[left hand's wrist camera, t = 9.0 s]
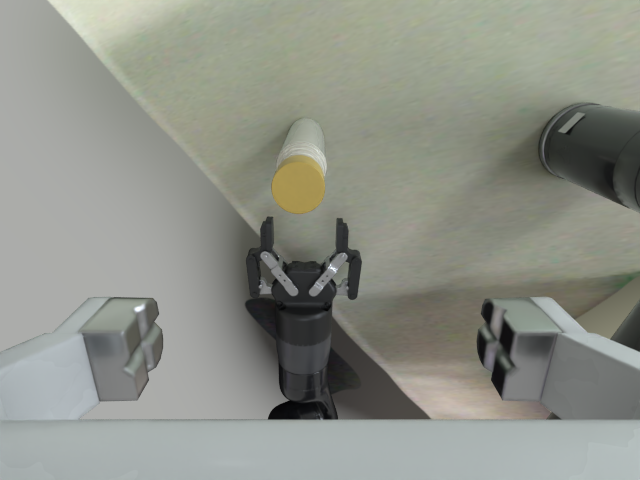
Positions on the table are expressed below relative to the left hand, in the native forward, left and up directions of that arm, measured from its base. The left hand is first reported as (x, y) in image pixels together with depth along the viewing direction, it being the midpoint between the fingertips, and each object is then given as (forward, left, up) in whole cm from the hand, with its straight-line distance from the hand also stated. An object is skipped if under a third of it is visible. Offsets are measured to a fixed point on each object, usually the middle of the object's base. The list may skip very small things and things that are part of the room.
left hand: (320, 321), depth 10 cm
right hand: (+6, -9, -38) cm, 40 cm away
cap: (0, -3, -21) cm, 21 cm away
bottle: (0, -3, -44) cm, 44 cm away
